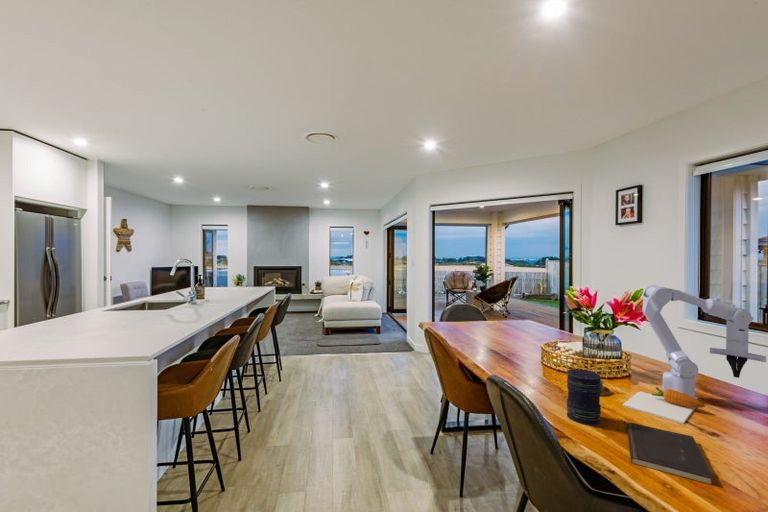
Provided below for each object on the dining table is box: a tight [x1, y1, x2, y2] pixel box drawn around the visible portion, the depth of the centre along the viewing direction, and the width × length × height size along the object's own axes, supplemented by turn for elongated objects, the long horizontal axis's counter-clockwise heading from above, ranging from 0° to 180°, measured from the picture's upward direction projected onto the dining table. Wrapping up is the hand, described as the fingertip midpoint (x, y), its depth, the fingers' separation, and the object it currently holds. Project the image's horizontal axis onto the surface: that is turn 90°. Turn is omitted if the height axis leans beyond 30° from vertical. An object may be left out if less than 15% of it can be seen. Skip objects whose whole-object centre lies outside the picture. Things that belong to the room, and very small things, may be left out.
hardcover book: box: [626, 422, 714, 485], centre depth 96 cm, size 16×23×2 cm
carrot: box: [650, 386, 706, 409], centre depth 126 cm, size 5×5×15 cm
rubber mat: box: [622, 391, 696, 425], centre depth 126 cm, size 17×20×1 cm
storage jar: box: [566, 362, 602, 426], centre depth 116 cm, size 10×10×18 cm
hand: (736, 376), depth 128 cm, fingers closed
